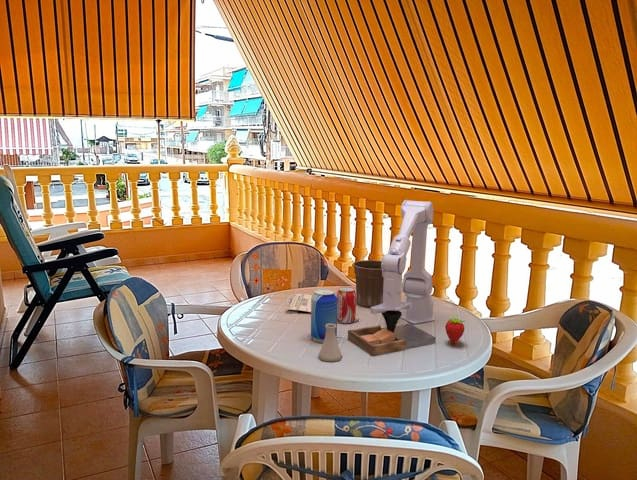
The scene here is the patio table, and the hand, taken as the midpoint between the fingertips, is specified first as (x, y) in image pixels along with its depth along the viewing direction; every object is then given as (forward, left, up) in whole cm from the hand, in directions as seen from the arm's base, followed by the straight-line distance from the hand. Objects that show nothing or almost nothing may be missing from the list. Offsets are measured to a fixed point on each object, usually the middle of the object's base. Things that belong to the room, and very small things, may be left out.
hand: (390, 332), depth 164 cm
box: (+5, 0, -3) cm, 6 cm away
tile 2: (+2, 0, -2) cm, 3 cm away
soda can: (+3, -23, -3) cm, 23 cm away
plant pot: (-17, -37, -3) cm, 41 cm away
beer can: (+18, -11, -3) cm, 22 cm away
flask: (+23, +3, -3) cm, 24 cm away
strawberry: (-18, +10, -3) cm, 21 cm away
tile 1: (+8, -1, -3) cm, 9 cm away
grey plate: (-7, 0, -3) cm, 7 cm away
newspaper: (+11, -47, -4) cm, 48 cm away
